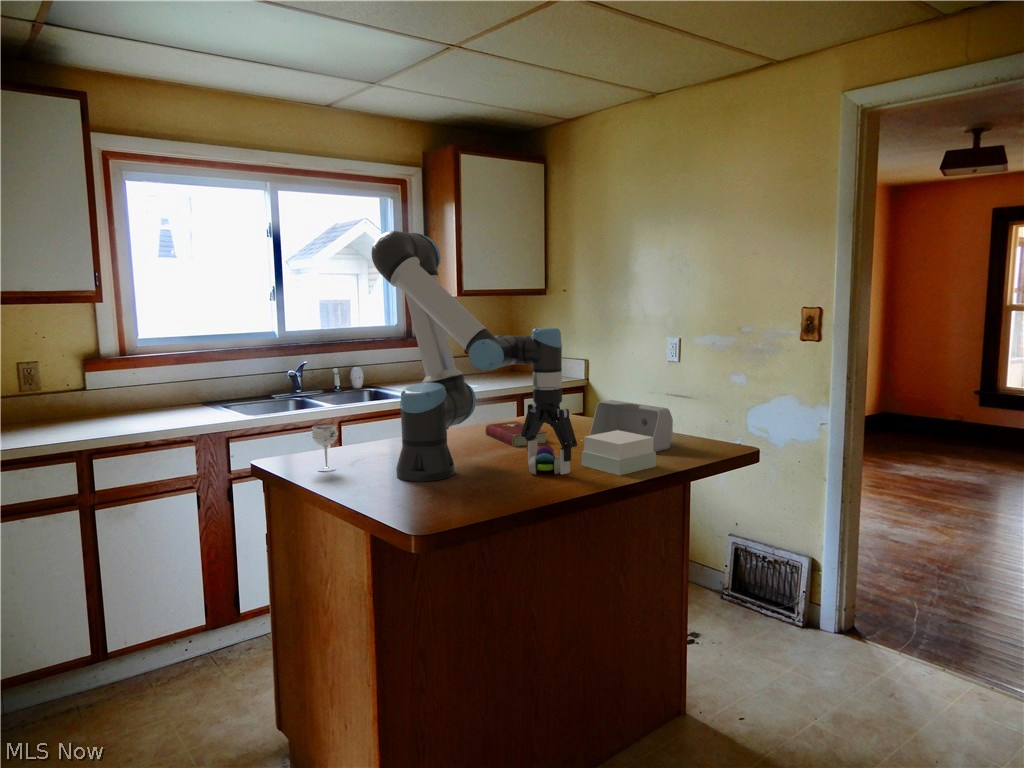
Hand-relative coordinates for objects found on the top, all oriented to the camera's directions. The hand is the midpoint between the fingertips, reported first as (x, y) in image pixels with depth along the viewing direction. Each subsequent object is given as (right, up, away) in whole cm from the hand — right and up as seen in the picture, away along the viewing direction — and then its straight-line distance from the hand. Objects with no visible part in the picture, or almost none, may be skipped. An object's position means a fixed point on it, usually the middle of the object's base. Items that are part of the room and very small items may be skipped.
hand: (548, 468), depth 183 cm
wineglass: (-60, -1, +6) cm, 60 cm away
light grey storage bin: (+28, +4, +32) cm, 43 cm away
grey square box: (+19, 0, +5) cm, 20 cm away
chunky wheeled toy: (-1, -1, 0) cm, 1 cm away
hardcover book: (-8, +4, +43) cm, 44 cm away
